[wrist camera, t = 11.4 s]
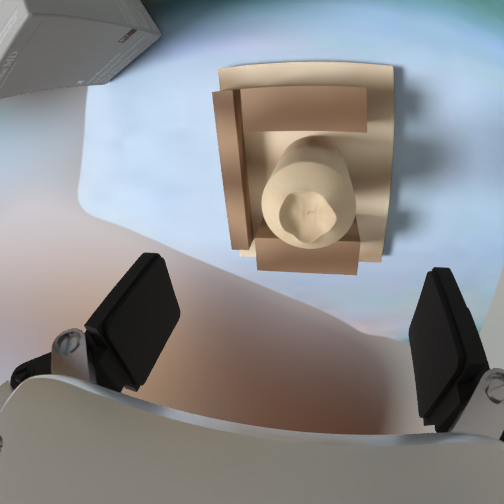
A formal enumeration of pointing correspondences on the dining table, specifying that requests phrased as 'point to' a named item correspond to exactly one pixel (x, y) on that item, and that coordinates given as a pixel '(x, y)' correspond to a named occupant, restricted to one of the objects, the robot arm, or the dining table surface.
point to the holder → (298, 126)
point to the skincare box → (69, 42)
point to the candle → (310, 195)
